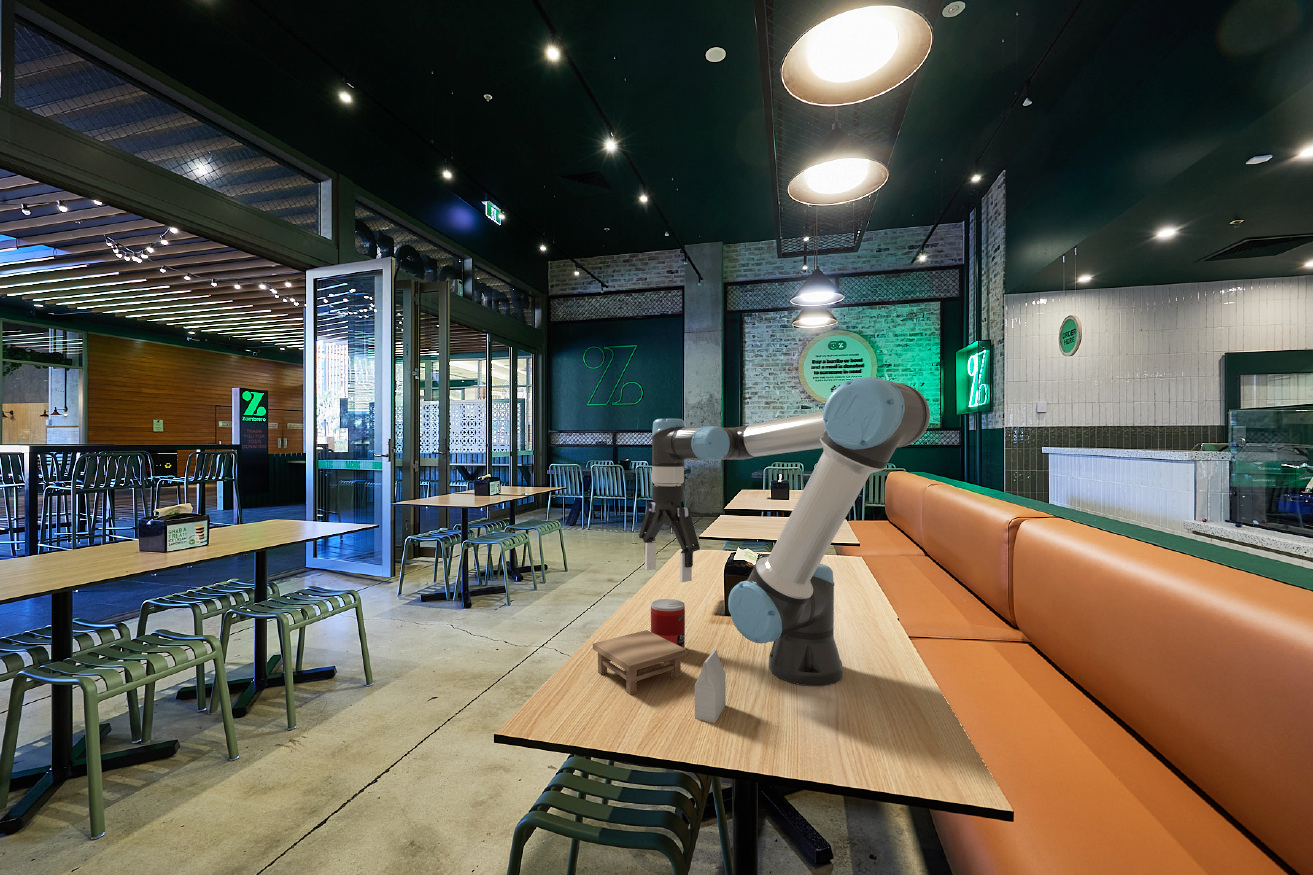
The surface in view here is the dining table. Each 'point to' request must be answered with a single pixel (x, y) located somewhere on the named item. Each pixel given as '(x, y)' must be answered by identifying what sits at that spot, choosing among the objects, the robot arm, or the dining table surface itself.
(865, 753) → the dining table surface
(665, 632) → the canned food
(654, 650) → the stool
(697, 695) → the grey pointed block
